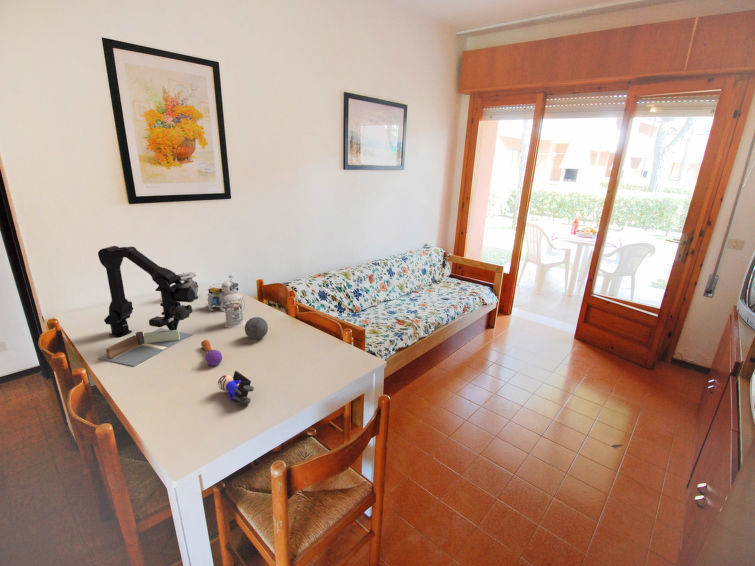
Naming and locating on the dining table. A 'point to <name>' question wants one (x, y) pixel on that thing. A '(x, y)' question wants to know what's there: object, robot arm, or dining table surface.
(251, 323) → the decorative ball
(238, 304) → the french press
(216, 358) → the kendama
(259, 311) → the dining table surface
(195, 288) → the figurine
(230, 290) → the robotic toy
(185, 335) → the card
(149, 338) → the swing panel
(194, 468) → the dining table surface
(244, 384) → the character figurine
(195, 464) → the dining table surface
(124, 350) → the brown wooden bar
